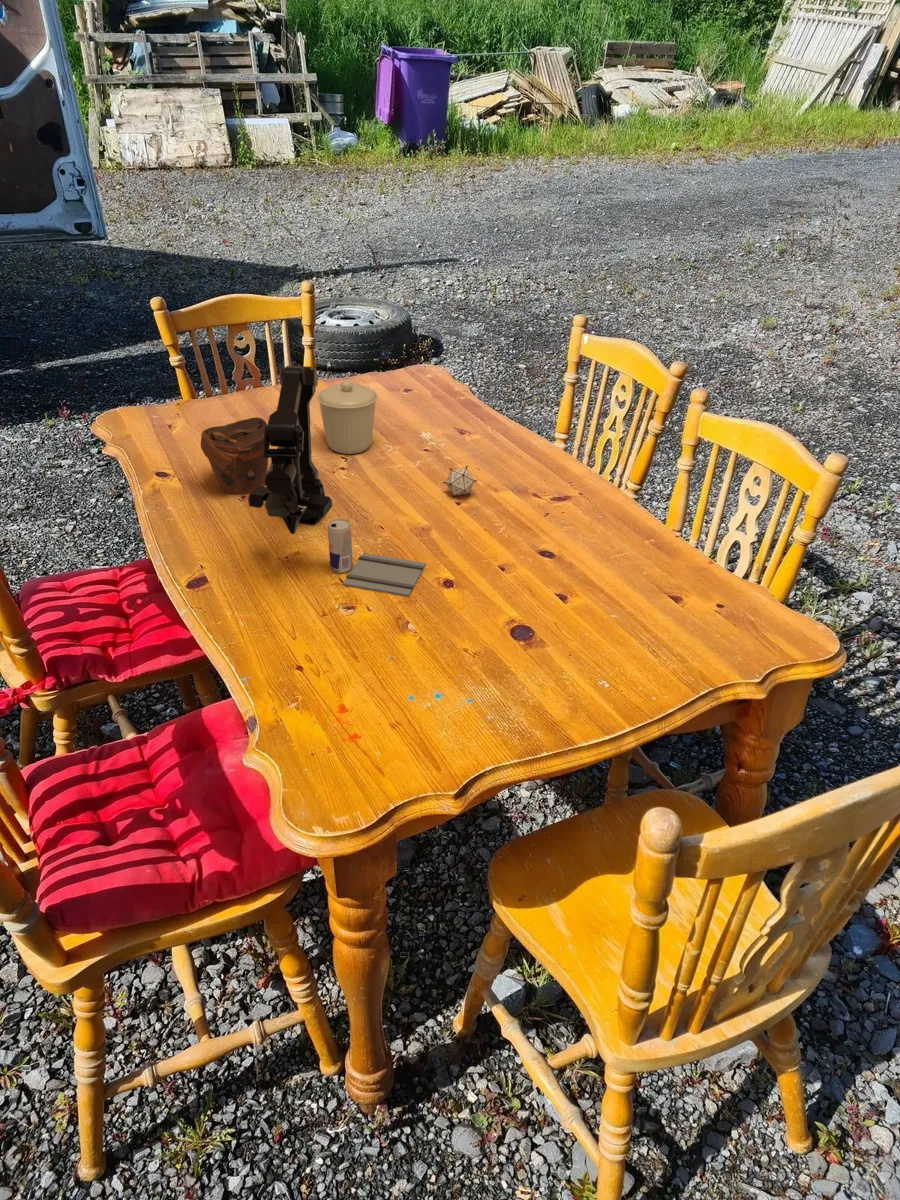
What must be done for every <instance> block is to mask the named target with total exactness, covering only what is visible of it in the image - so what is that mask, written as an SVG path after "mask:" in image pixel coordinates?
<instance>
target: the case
mask: <svg viewBox="0 0 900 1200" xmlns="http://www.w3.org/2000/svg"><path fill="white" fill-rule="evenodd" d="M267 424H268V422H266V420H265V419H263V418H261V417H258V416H257V417H250V418H247V419H242V420H238V421H235V422H231V423H228V424H225V425H220V426H212V427H208V428H205V429H203V430H202V432H201V436H200V449H201V451H202V453H203V454H204V456H205V457H206V458H207V459H208V461H209V464H210V466H211V469H212V472H213V475H214V476H215V479H216V482H217V486H218V488H219V490H220V491H223V492H224V493H228V494H232V495H242V494H243V495H245V494H251V493H252V492H253V491H254V490H255V489H256V488H257V487H258V486H263V487H265V486H266V484H265V478H266V475H267V473H268V467H269V458H264V433H265V425H267ZM269 447H271V445H270V442H269Z"/></svg>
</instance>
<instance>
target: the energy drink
mask: <svg viewBox="0 0 900 1200" xmlns="http://www.w3.org/2000/svg"><path fill="white" fill-rule="evenodd" d="M327 538H328V540H327V541H328V555H329V556H328V557H329V565H330V566H329V567H330V570H331V571H332V572H334V573H337V574H346V573H348V572H349V573H350V572H351V570H352V569H353V567H354V566H353V564H354V563H353V545H352V526H351V523H350V521H348V519H347V520H346V519H343V518H336V519H332V520H331V521H329V522H328V525H327Z"/></svg>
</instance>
